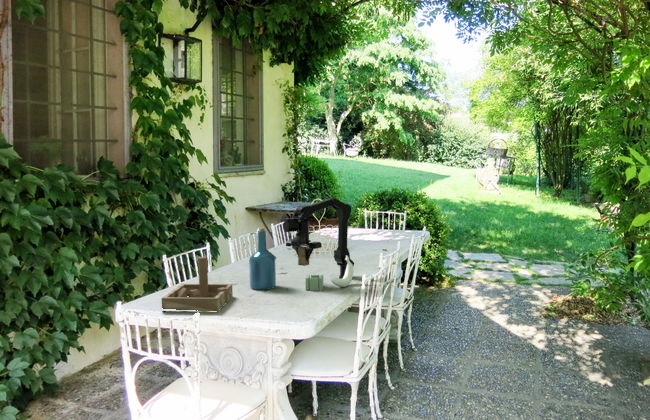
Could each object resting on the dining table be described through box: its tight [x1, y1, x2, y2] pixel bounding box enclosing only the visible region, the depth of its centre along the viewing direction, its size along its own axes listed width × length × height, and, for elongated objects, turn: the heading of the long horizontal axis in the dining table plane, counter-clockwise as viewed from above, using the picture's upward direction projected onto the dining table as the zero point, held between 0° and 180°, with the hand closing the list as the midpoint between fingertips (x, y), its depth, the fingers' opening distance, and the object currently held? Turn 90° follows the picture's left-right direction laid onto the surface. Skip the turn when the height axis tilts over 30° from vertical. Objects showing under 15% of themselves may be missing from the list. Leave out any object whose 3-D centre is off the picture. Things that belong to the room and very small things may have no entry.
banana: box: [330, 255, 354, 288], centre depth 288 cm, size 5×19×15 cm, turn 153°
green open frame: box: [305, 274, 324, 292], centre depth 285 cm, size 8×8×6 cm
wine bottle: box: [248, 227, 277, 291], centre depth 288 cm, size 14×13×30 cm
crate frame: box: [161, 283, 234, 312], centre depth 258 cm, size 27×24×6 cm
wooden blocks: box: [176, 256, 229, 304], centre depth 257 cm, size 17×20×20 cm
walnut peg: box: [297, 246, 310, 267], centre depth 294 cm, size 4×4×9 cm
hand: (303, 260), depth 294 cm, fingers closed on walnut peg, 4 cm apart
